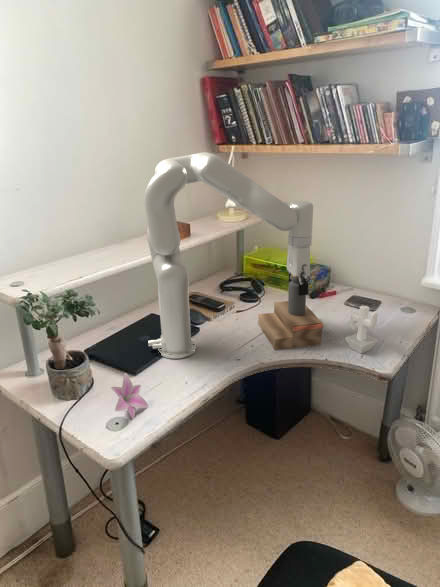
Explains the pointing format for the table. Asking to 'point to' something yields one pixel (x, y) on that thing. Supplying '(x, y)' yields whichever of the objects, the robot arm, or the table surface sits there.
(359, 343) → the figurine
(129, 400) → the lily
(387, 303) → the table surface
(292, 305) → the bottle
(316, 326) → the step stand
